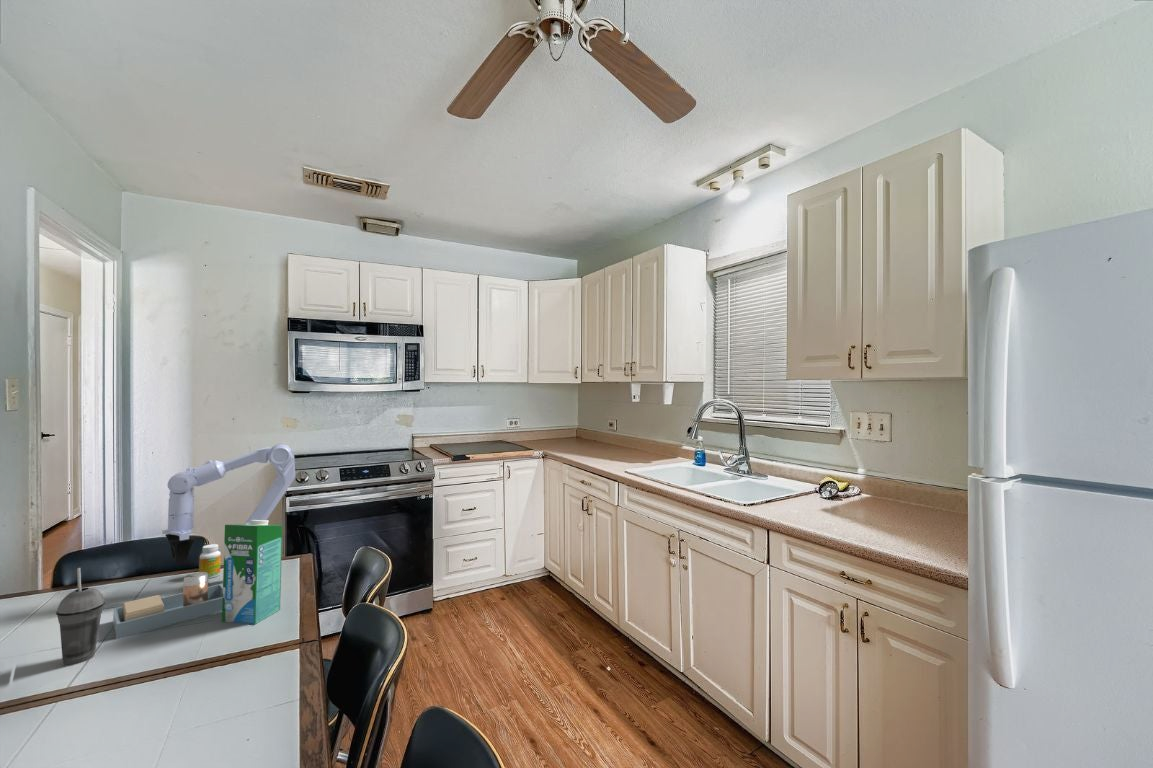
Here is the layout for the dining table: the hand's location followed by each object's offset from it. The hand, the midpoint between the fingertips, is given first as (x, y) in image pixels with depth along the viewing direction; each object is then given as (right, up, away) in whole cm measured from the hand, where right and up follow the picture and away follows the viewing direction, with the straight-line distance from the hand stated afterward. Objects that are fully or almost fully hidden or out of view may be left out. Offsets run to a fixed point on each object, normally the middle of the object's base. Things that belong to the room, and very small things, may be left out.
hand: (179, 560), depth 136 cm
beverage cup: (+9, -9, -35) cm, 37 cm away
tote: (+11, -9, -15) cm, 21 cm away
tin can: (+14, -9, -12) cm, 20 cm away
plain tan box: (+7, -9, -19) cm, 22 cm away
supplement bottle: (-2, -11, +14) cm, 17 cm away
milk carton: (+31, -10, -14) cm, 35 cm away
